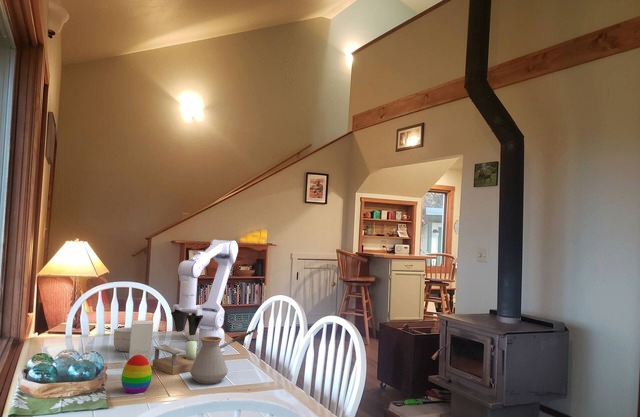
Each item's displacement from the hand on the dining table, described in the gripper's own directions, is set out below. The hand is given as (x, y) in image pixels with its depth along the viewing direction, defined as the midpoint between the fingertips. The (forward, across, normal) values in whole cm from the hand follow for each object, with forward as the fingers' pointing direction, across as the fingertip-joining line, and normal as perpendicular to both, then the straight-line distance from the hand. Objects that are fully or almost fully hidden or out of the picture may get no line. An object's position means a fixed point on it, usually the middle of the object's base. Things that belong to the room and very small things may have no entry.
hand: (185, 333), depth 173 cm
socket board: (+10, +6, -3) cm, 12 cm away
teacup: (+10, -25, -6) cm, 27 cm away
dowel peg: (+10, +6, -2) cm, 12 cm away
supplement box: (+10, -14, -9) cm, 19 cm away
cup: (+10, -26, +26) cm, 38 cm away
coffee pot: (+10, +25, -3) cm, 27 cm away
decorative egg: (+10, +17, -29) cm, 35 cm away
